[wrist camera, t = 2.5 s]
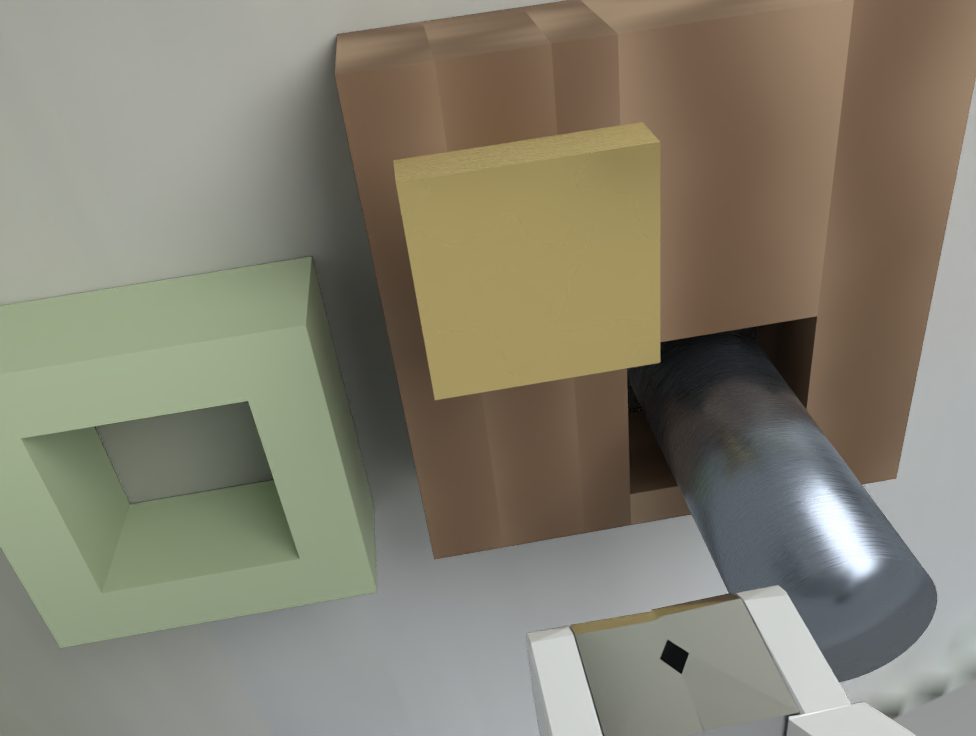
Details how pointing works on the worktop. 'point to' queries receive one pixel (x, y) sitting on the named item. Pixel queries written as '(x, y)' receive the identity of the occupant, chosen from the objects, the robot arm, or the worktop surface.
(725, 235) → the socket block
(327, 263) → the worktop surface
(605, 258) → the yellow square block
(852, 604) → the peg
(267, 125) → the worktop surface
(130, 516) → the square ring
